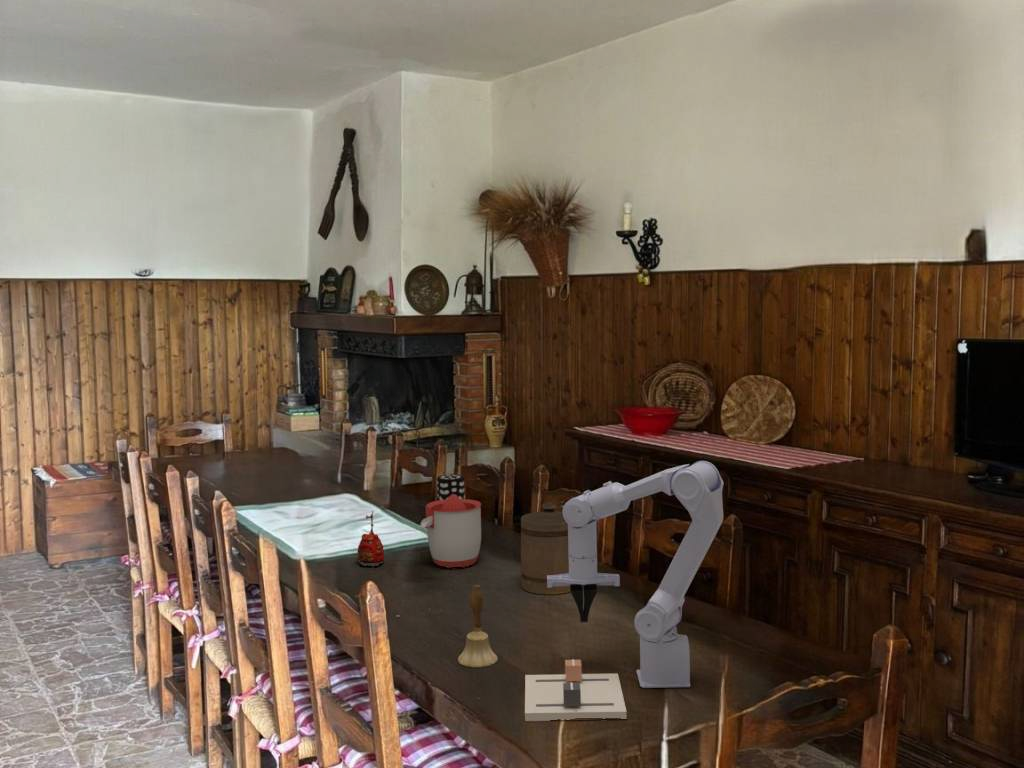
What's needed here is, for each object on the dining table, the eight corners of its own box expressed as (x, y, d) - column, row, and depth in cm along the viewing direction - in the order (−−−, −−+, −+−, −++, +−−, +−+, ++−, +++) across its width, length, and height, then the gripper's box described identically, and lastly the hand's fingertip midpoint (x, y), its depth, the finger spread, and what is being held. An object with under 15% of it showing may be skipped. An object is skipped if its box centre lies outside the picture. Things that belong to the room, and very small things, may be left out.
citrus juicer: (414, 561, 274) (411, 492, 272) (470, 553, 281) (468, 486, 279) (433, 575, 260) (430, 503, 258) (491, 566, 267) (489, 495, 265)
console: (617, 680, 187) (617, 672, 187) (626, 719, 170) (626, 710, 170) (525, 682, 187) (525, 674, 187) (525, 721, 171) (524, 712, 170)
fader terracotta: (580, 674, 186) (580, 659, 185) (581, 680, 183) (581, 665, 182) (565, 674, 186) (565, 659, 185) (566, 681, 183) (565, 665, 182)
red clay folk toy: (354, 567, 270) (351, 515, 268) (364, 560, 276) (362, 509, 275) (378, 569, 268) (376, 516, 266) (389, 562, 274) (387, 510, 273)
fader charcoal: (579, 698, 175) (579, 682, 174) (580, 705, 172) (580, 689, 171) (563, 699, 175) (563, 682, 174) (564, 706, 172) (563, 689, 171)
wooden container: (579, 577, 255) (578, 496, 253) (577, 595, 240) (576, 509, 238) (523, 577, 256) (521, 496, 254) (518, 595, 241) (516, 509, 239)
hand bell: (497, 651, 204) (495, 578, 202) (498, 667, 196) (496, 590, 194) (458, 653, 204) (455, 579, 202) (457, 668, 195) (454, 592, 194)
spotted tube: (436, 539, 298) (434, 475, 296) (462, 536, 301) (460, 473, 299) (442, 545, 290) (440, 480, 288) (469, 543, 293) (467, 478, 291)
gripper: (617, 548, 197) (618, 613, 198) (546, 550, 197) (547, 614, 198) (620, 558, 190) (621, 625, 191) (546, 559, 190) (548, 626, 191)
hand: (583, 620), depth 194 cm, fingers closed
